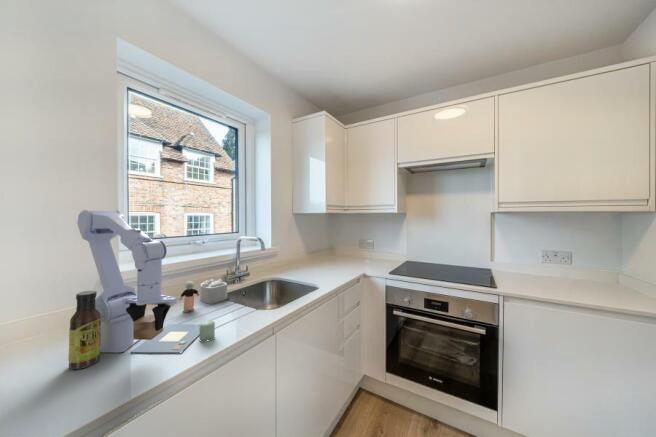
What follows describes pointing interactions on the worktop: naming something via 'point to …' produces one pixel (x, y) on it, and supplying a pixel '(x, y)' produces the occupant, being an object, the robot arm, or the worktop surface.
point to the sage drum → (207, 330)
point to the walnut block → (145, 328)
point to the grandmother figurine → (189, 296)
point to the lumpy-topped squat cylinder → (213, 291)
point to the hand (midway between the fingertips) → (149, 328)
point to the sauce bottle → (84, 332)
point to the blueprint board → (170, 339)
